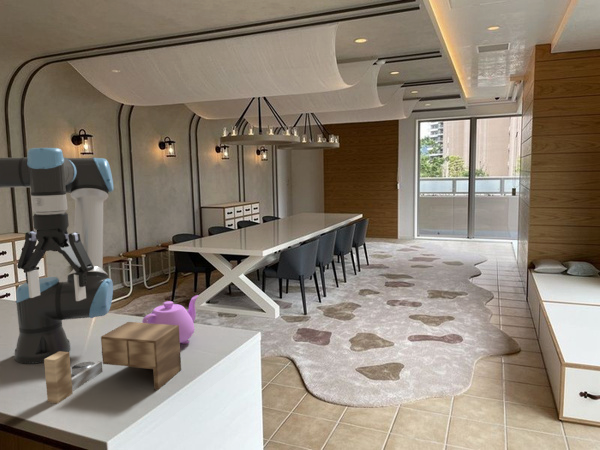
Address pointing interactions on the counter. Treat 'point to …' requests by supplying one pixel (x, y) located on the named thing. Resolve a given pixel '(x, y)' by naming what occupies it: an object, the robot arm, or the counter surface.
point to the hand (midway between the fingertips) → (57, 298)
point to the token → (80, 367)
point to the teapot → (175, 318)
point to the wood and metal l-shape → (65, 376)
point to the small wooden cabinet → (144, 349)
